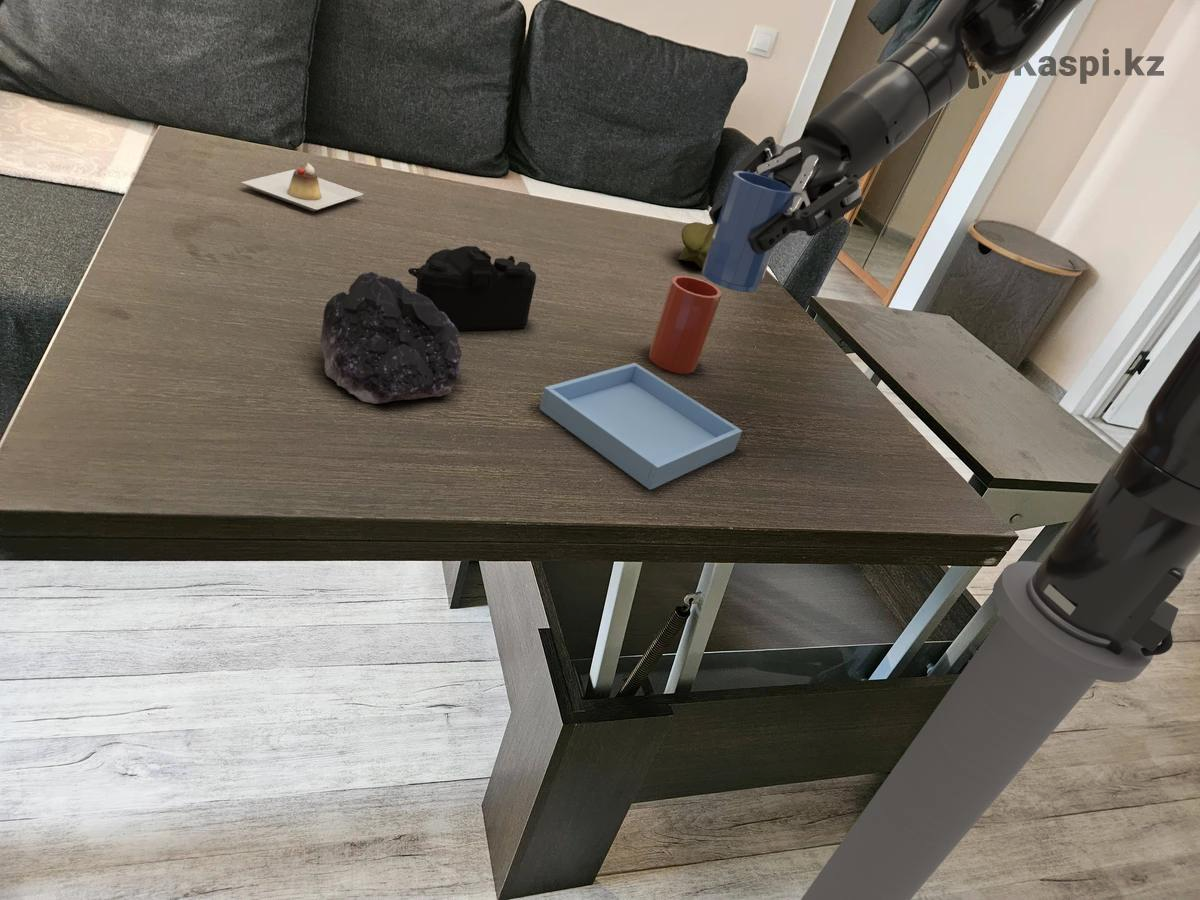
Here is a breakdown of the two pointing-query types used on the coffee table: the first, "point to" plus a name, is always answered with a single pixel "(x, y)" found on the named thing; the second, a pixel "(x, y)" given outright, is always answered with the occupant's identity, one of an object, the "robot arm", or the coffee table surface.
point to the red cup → (684, 324)
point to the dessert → (302, 189)
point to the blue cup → (743, 231)
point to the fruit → (696, 242)
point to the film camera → (477, 288)
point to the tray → (640, 423)
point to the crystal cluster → (388, 342)
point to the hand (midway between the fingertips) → (733, 233)
